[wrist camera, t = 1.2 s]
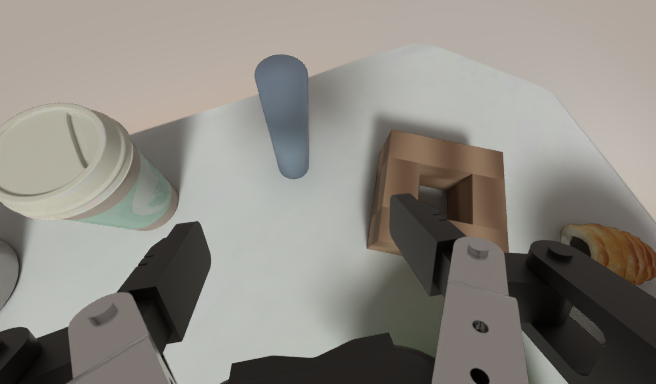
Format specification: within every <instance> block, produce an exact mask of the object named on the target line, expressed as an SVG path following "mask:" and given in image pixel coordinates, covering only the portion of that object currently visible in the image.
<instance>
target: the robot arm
mask: <svg viewBox="0 0 656 384" xmlns="http://www.w3.org/2000/svg"><path fill="white" fill-rule="evenodd" d="M389 230H390V235H391V237H392V240H393V241H394V243H395V244H396V246H397V247H398V249H399V250H400V252H401V253H402V255H403V256H404V258H405V259H406V261H407V262H408V264H409V265H410V267H411V268H412V270H413V272H414V273H415V275H416V276H417V278H418V279H419V281H420V282H421V284H422V285H423V287H424V288H425V290H426V291H427V293H428V294H429V296H435V295H440V294H442V295H443V296H444V298H445V301H444V307H443V313H442V319H441V326H440V332H439V338H438V344H437V350H436V356H435V358H433V357H432V356H430V355H428V354H426V353H423V352H421V351H419V350H415V349H412V348H409V347H404V346H397V345H394V344H393V342H392V339H391V337H390V334H389V333H384V334H379V335H374V336H369V337H364V338H359V339H354V340H351V341H349V342H347V343H344V344H342V345H340V346H338V347H336V348H334V349H332V350H330V351H328V352H326V353H324V354H322V355H320V356H317V357H314V358H303V357H287V356H268V357H263V358H258V359H252V360H247V361H242V362H237V363H232V366H231V371H230V377H229V379H228V380H226V381H224V382H222V383H221V384H529V382H528V374H527V367H526V360H525V353H524V346H523V339H522V331H521V329H522V330H523V331H524V333H525V334H526V335H527V336H528V337H529V338H530V339H531V341H532V342H533V343H534V344H535V345H536V346H537V348H538V349H539V350H540V351H541V352H542V353H543V355H544V356H545V357H546V358H547V359H548V360H549V361H550V363H551V364H552V365H553V366H554V367H555V368H556V370H557V371H558V372H559V373H560V374H561V375H562V377H563V378H564V379H565V380H566V381H567V382H568V384H656V299H655V298H654V297H652V296H651V295H649V294H648V293H646V292H644V291H643V290H641V289H640V288H638V287H636V286H635V285H633V284H632V283H630V282H629V281H627V280H625V279H624V278H622V277H621V276H619V275H618V274H616V273H614V272H613V271H611V270H610V269H608V268H607V267H605V266H603V265H602V264H600V263H599V262H597V261H596V260H594V259H592V258H591V257H589V256H588V255H586V254H584V253H583V252H581V251H580V250H578V249H576V248H574V247H572V246H569V245H566V244H563V243H560V242H555V241H548V240H541V241H536V242H533V243H532V244H531V246H530V249H529V252H528V254H520V253H504V252H503V251H502V249H501V248H500V247H499V246H497V245H496V244H494V243H492V242H491V241H488V240H486V239H482V238H478V237H467V236H466V235H465V234H464V233H463V232H462V231H460V230H459V229H458V228H457V227H456V226H455V225H454V224H452V223H451V222H450V221H449V220H447V218H446V217H445V216H443V215H441V213H440V212H439V211H438V210H437V209H435V208H434V207H433V206H431V205H428V204H426V203H424V202H419V201H418V200H417V199H416V198H415V197H414V196H413V195H412V194H410V193H403V194H396V195H392V196H391V198H390V217H389ZM210 266H211V255H210V251H209V248H208V245H207V242H206V239H205V236H204V233H203V230H202V227H201V224H200V223H199V222H198V221H195V222H188V223H180V224H176V225H175V227H174V228H173V229H172V231H171V232H170V234H169V235H168V236H167V238H163V239H162V240H160V241H159V242H158V243H156V244H155V245H154V246H152V247H151V248H150V250H149V251H148V252H147V254H146V255H145V256H144V258H143V259H142V260H141V261H140V263H139V264H138V267H136V268H135V269H134V271H133V272H132V273H131V274H130V276H129V277H128V278H127V280H126V281H125V282H124V284H123V285H122V286H121V287H120V289H119V290H118V291H117V293H114V294H110V295H107V296H105V297H102V298H100V299H98V300H96V301H94V302H92V303H91V304H89V305H88V306H86V307H85V308H84V309H82V310H81V311H80V312H79V313H78V314H77V315H76V316H75V317H74V318H73V319H72V321H71V322H70V324H69V327H66V328H64V329H61V330H58V331H55V332H53V333H50V334H47V335H45V336H42V337H39V338H37V339H36V338H35V337H34V336H33V334H32V333H31V332H30V331H29V330H28V329H27V328H24V327H17V328H11V329H7V330H4V331H1V332H0V384H177V381H176V379H175V377H174V375H173V373H172V371H171V369H170V366H169V364H168V362H167V360H166V358H165V356H164V354H163V351H164V349H165V347H166V344H170V343H175V342H181V341H182V340H183V337H184V335H185V332H186V330H187V327H188V324H189V322H190V319H191V317H192V314H193V311H194V309H195V306H196V304H197V301H198V298H199V296H200V293H201V290H202V288H203V285H204V283H205V280H206V277H207V275H208V272H209V270H210ZM18 269H19V264H18V259H17V255H16V254H15V252H14V250H13V248H12V247H10V246H9V245H8V244H7V243H6V242H4V241H2V240H0V309H1V308H2V307H3V305H4V304H5V303H6V301H7V300H8V298H9V297H10V295H11V293H12V291H13V289H14V287H15V285H16V281H17V277H18ZM573 305H574V306H575V307H576V308H577V309H578V310H580V311H581V312H582V313H583V314H584V315H585V316H587V317H588V318H589V319H590V320H591V321H592V322H594V323H595V324H596V325H597V326H598V327H599V328H600V330H601V331H602V333H603V334H604V336H605V339H606V347H604V346H602V345H601V344H600V343H599V342H598V341H597V340H596V339H595V338H594V337H592V336H591V335H590V334H589V333H588V332H587V331H586V330H585V329H584V328H583V327H581V326H580V325H579V324H578V323H577V322H576V321H575V320H574V319H573V318H571V317H570V316H569V313H570V311H571V309H572V307H573Z"/></svg>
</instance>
